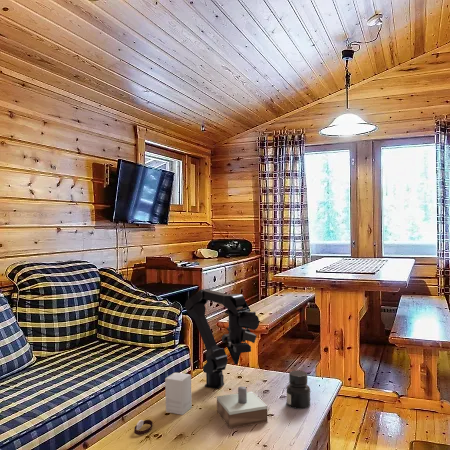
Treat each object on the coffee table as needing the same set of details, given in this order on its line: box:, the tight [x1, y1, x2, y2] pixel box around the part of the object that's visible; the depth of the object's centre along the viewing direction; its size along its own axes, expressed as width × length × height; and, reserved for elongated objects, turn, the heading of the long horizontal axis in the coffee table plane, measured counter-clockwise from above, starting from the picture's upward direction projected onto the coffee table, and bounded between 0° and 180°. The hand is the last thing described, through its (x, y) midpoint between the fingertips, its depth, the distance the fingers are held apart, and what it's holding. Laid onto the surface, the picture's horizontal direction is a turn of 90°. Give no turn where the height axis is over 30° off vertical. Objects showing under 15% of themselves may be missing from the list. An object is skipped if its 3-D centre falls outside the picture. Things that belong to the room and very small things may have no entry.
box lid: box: [216, 386, 268, 415], centre depth 162 cm, size 14×14×6 cm
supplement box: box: [164, 372, 193, 416], centre depth 169 cm, size 7×7×13 cm
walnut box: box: [216, 399, 269, 429], centre depth 162 cm, size 14×14×4 cm
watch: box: [133, 419, 154, 436], centre depth 153 cm, size 8×5×4 cm, turn 150°
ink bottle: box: [286, 370, 311, 410], centre depth 172 cm, size 10×9×12 cm
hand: (236, 364), depth 183 cm, fingers closed
